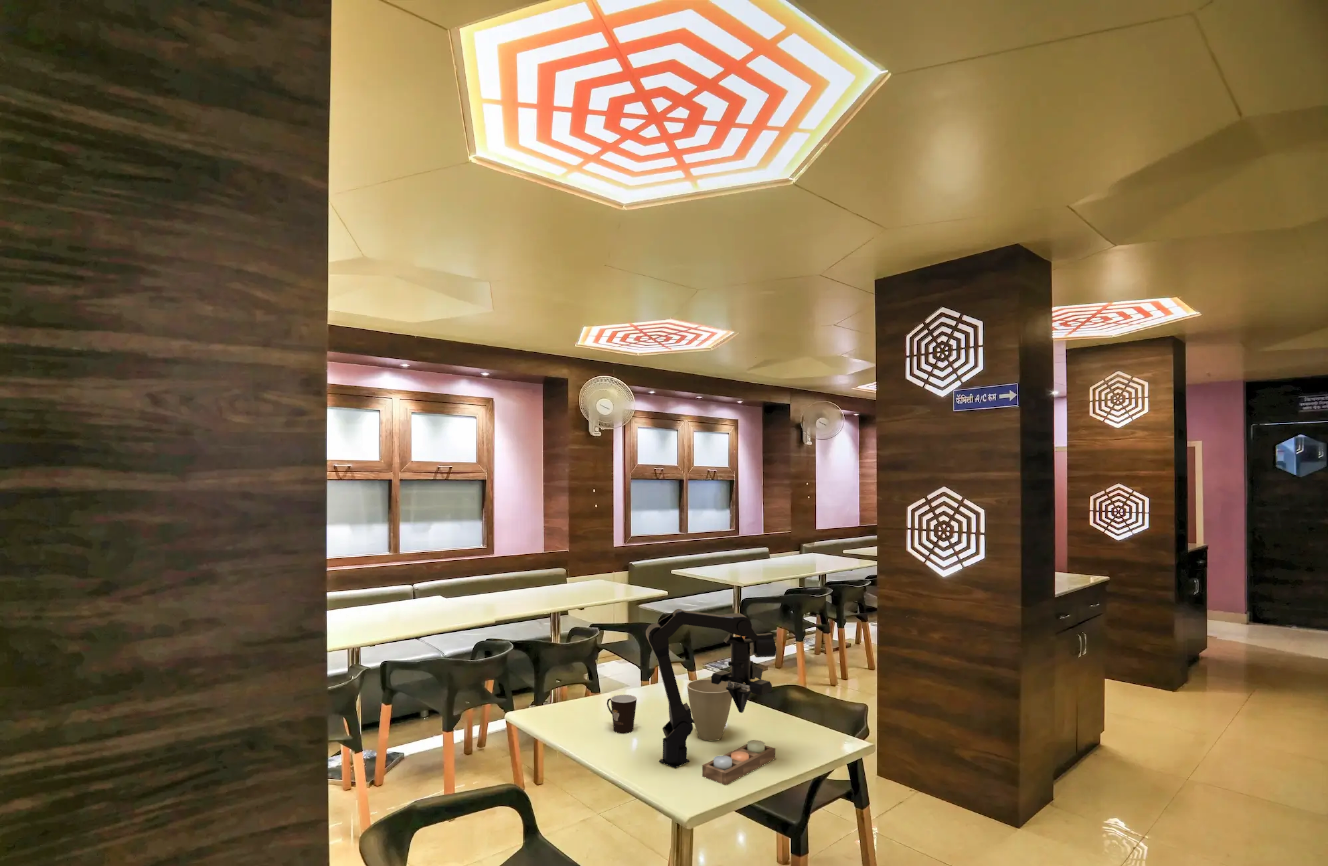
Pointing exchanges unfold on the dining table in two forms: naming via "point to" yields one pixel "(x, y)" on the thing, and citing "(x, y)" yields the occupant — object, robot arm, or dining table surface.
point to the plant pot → (709, 707)
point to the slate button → (723, 762)
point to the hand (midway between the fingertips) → (741, 712)
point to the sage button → (756, 746)
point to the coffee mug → (623, 712)
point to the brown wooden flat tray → (738, 765)
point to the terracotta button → (740, 756)
